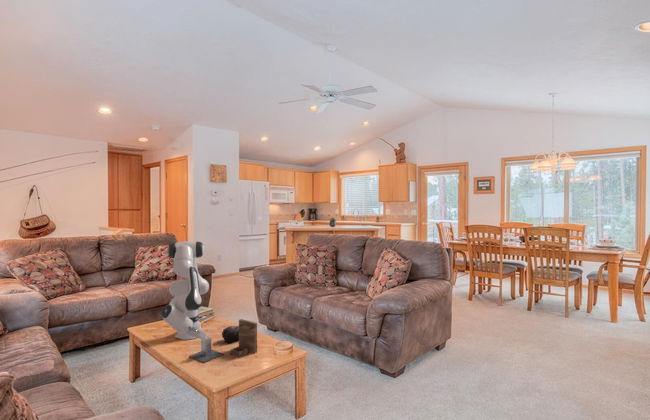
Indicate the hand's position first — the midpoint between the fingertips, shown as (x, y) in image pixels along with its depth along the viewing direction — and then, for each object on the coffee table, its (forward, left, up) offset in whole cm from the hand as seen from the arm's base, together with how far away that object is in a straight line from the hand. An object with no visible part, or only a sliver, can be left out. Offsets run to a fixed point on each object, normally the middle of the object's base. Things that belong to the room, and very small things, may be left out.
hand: (199, 337), depth 214 cm
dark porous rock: (-27, +21, -13) cm, 36 cm away
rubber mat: (-3, +4, -13) cm, 14 cm away
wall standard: (-3, +25, -13) cm, 28 cm away
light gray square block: (-3, +4, -12) cm, 13 cm away
